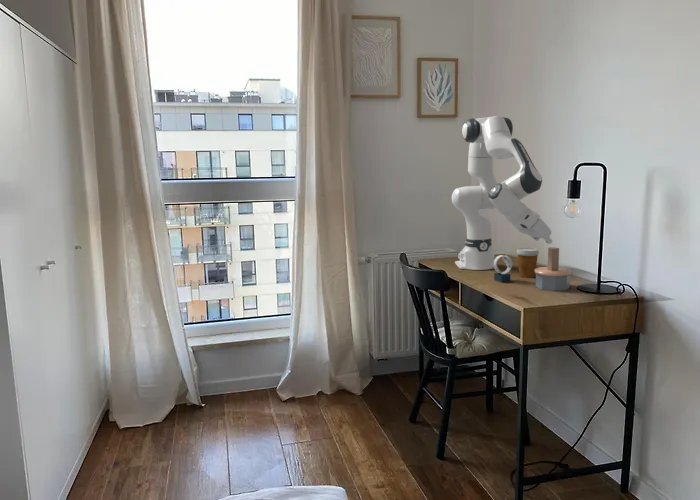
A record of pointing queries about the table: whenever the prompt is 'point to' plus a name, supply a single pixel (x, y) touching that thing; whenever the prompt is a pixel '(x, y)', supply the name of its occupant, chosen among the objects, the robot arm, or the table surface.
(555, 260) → the lid
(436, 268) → the table surface
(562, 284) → the bowl
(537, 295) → the table surface
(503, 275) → the watch
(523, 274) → the disposable coffee cup
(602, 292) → the table surface
